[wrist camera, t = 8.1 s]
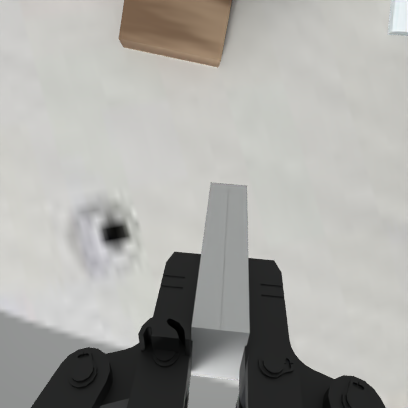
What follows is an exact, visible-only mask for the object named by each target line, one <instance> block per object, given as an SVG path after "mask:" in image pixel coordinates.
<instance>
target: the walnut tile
mask: <svg viewBox="0 0 408 408" xmlns="http://www.w3.org/2000/svg"><path fill="white" fill-rule="evenodd" d="M231 3H232V0H124V6H123V13H122V20H121V27H120V34H119V40H120V42H121V44H122V45H123V47H124V48H129V49H133V50H138V51H143V52H147V53H152V54H157V55H161V56H166V57H170V58H175V59H180V60H184V61H189V62H193V63H198V64H203V65H207V66H212V67H217V68H218V66H219V64H220V61H221V56H222V51H223V46H224V40H225V35H226V30H227V24H228V19H229V13H230V8H231Z"/></svg>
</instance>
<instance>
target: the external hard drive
mask: <svg viewBox="0 0 408 408" xmlns="http://www.w3.org/2000/svg"><path fill="white" fill-rule="evenodd" d="M388 34H389V35H405V36H408V0H391V6H390V15H389V25H388Z"/></svg>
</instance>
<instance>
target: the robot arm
mask: <svg viewBox="0 0 408 408" xmlns="http://www.w3.org/2000/svg"><path fill="white" fill-rule="evenodd" d="M138 335H139V342H140V343H138V344H137V345H135V346H133V347H131V348H128V349H125V350H121V351H117V352H113V353H108V354H105V353H103V352H102V351H100V350H99V349H96V348H89V347H88V348H84V349H80V350H77V351H76V352H74V353H72V354H70V355H69V356H68V357H67V358H66V359H65V360H64V361H63V362H62V363H61V365H60V366H59V368H58V369H57V371H56V372H55V373H54V375H53V376H52V378H51V379H50V381H49V382H48V384H47V385H46V387H45V388H44V389H43V391H42V392H41V394H40V395H39V397H38V398H37V400H36V401H35V402H34V404H33V405H32V407H31V408H187V407H188V399H189V385H190V376H191V375H195V376H203V377H212V378H221V379H230V380H239V396H238V400H237V404H236V408H385V406H384V404H383V402H382V400H381V398H380V397H379V396H378V394H377V393H376V391H375V390H374V389H373V388H372V387H371V386H370V385H369V384H367V383H366V382H365V381H363V380H361V379H359V378H357V377H354V376H344V375H343V376H341V377H338V378H336V379H333V378H330V377H328V376H326V375H324V374H321V373H319V372H317V371H315V370H313V369H311V368H309V367H308V366H306V365H305V364H304V363H302V362H301V361H300V360H299V359H298V357H297V356H296V355H295V354H294V352H293V350H292V348H291V345H290V341H289V333H288V325H287V316H286V308H285V300H284V291H283V282H282V274H281V271H280V270H279V268H278V266H277V265H276V263H275V261H274V260H263V259H253V258H248V215H247V186H245V185H234V184H222V183H211V185H210V192H209V200H208V207H207V215H206V222H205V230H204V237H203V245H202V252H201V254H193V253H182V252H174V253H173V254H172V256H171V257H170V258H169V259H168V261H167V262H166V265H165V270H164V274H163V278H162V282H161V287H160V290H159V294H158V299H157V303H156V307H155V311H154V315H153V317H152V318H150V319H149V320H148V321H147V322H146V323H145V324H144V325H143V326H142V328H141V330H140V332H139V334H138Z"/></svg>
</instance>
